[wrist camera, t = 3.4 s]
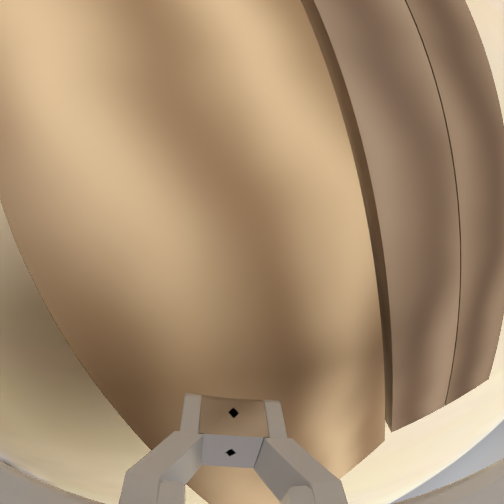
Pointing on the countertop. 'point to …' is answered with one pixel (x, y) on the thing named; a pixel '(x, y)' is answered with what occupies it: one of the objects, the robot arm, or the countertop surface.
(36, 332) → the countertop surface
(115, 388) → the click plank
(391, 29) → the laid floorboards
